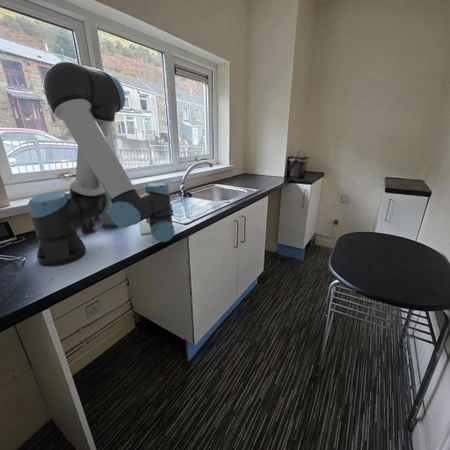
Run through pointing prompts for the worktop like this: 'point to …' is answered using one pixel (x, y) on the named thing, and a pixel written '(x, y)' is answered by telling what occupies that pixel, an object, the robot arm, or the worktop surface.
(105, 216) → the teacup
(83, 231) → the supplement bottle
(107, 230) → the worktop surface
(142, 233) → the plate
